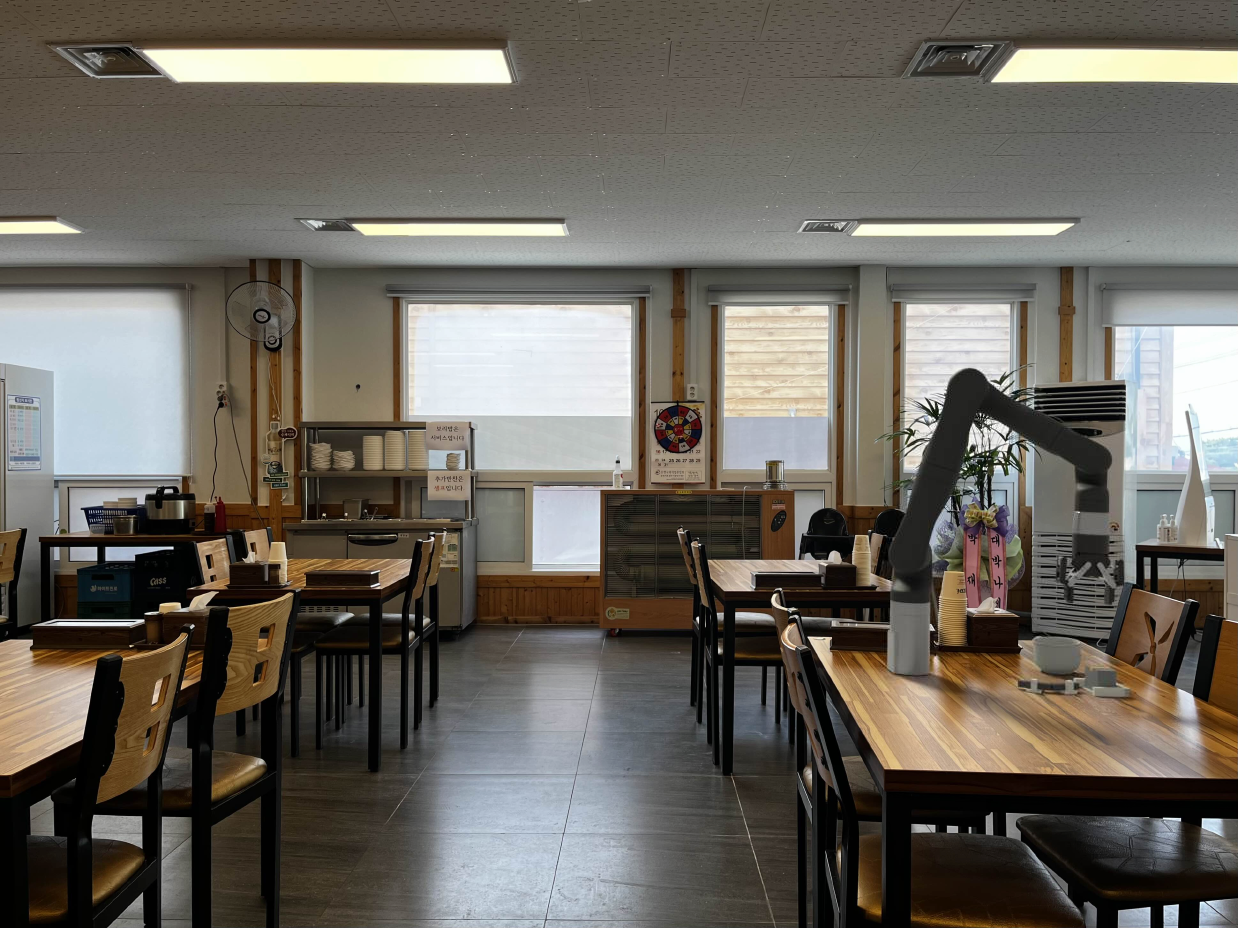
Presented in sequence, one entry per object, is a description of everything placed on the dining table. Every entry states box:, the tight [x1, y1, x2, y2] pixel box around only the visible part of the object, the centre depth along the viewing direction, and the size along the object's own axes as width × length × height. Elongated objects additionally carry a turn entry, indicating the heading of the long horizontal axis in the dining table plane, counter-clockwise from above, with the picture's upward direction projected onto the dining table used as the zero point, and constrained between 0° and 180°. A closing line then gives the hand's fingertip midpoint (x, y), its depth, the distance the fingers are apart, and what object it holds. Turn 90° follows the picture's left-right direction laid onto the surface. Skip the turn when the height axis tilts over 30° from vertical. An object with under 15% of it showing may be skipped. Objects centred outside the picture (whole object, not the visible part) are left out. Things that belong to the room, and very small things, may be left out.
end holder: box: [1073, 677, 1131, 698], centre depth 203 cm, size 8×10×2 cm
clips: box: [1025, 678, 1078, 696], centre depth 203 cm, size 11×6×3 cm, turn 88°
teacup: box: [1031, 636, 1082, 676], centre depth 226 cm, size 14×11×8 cm
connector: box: [1084, 664, 1117, 690], centre depth 203 cm, size 4×6×5 cm, turn 178°
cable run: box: [1017, 679, 1080, 692], centre depth 203 cm, size 13×4×1 cm, turn 88°
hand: (1088, 603), depth 206 cm, fingers open, 8 cm apart
